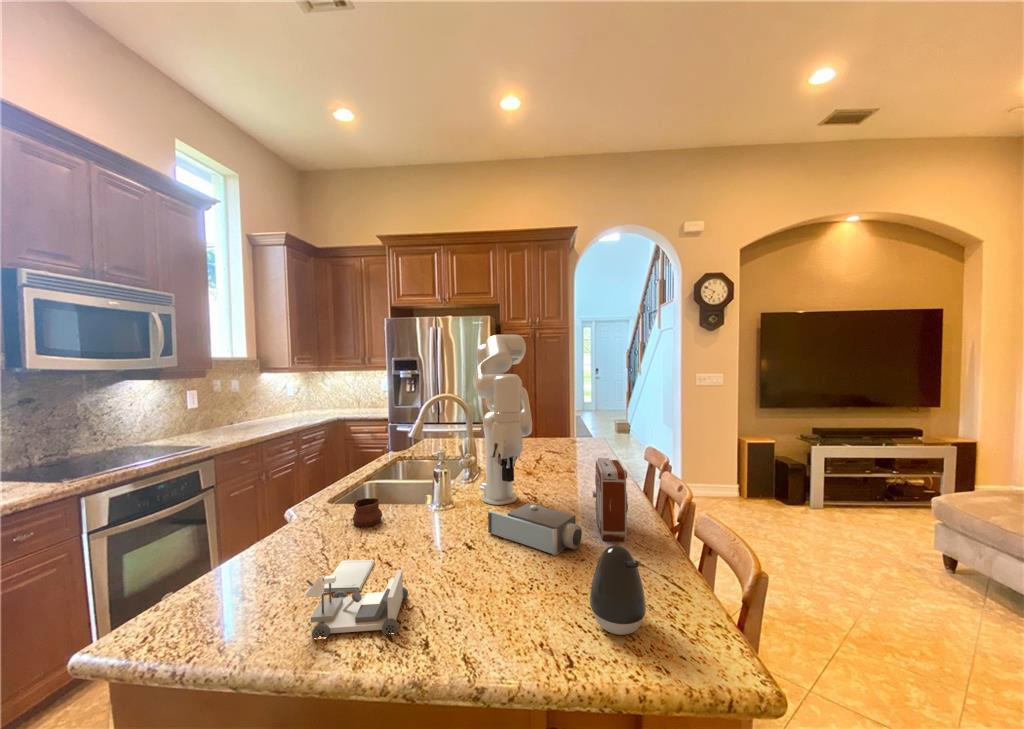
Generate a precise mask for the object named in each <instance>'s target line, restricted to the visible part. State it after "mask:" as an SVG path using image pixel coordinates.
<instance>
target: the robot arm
mask: <svg viewBox="0 0 1024 729" xmlns="http://www.w3.org/2000/svg"><path fill="white" fill-rule="evenodd" d="M526 351H527V347H526V341H525V339H524V338H523V337H522V336H521V335H519V334H493V335H491V336H489V337H488V338H487V339H486V341H485V343H482V344H481V345H479V346H478V347H477V349H476V360H477V361H476V362H477V367H476V372H475V389H476V393H477V396H479V397H480V398H482V399H485V405H486V407H487V410H489V411H488V412H486V413H485V414H484V415H483V418H482V427H483V433H484V441H485V442H484V443H485V482H482V483H481V485H479V490H480V491H483V492H484V493H483V494H482V496H481V499H482V502H484V503H485V504H489V505H494V506H495V505H496V506H502V505H508V504H509V505H510V504H512V503H514V502H516V501H517V500H518V494H517V493H516V492H514V487H513V486H514V482H513V481H515V466H516V462H517V460H518V459H519V458H520V457H521V454H522V452H523V445H524V444H523V437H528V436H529V435H531V434H532V431H533V420H532V418H533V417H532V411H531V406H530V399H529V394H528V393H529V392H528V391H527V389H526V388H525V387H523V380H522V379H521V378H520V376H519V375H518V374H515V373H506V372H508V371H510V369H511V367H512V365H518V364H520V363H521V362H522V360H523V359H524V357H525V354H526Z"/></svg>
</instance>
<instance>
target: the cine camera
mask: <svg viewBox="0 0 1024 729" xmlns="http://www.w3.org/2000/svg"><path fill="white" fill-rule="evenodd" d="M594 478H595V479H594V483H595V484H594V485H595V491H594V490H593V491H592V498H595V516H596V518H595V520H596V521H595V522H596V525H597V528H598V529H597V530H598V534H599V536H600V539H601V540H602V541H618V542H619V541H620V542H621V541H622V542H623V541H626V540H627V532H628V531H627V529H628V528H627V523H628V522H627V518H628V517H627V513H628V511H629V504H628V491H627V479H628V470H627V469H625V468H624V466H623V465H622V464H621V462H620V461H619V460H618V459H610V458H609V457H597V459H596V461H595V476H594Z"/></svg>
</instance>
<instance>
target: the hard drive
mask: <svg viewBox="0 0 1024 729" xmlns="http://www.w3.org/2000/svg"><path fill="white" fill-rule="evenodd" d="M374 565H375V559H353V560H352V559H351V560H342V561H341V560H340V562H339V564H338V565H337V567H336V568H335V570H334V571H333V572H332V574H331V575H330V576H335V575H336V581H335V583H331V592H337V591H340V590H343V591H345V592H346V593H354V592H355V591H356V592H357V591H360V592H361V590H362V588H363V587H364V585H363V584H365V583H364V582H366V581H365V580H367V579H366V578H368V577H369V575H370V573H371V571H372V569H373V567H374ZM367 576H368V577H367ZM352 591H353V592H352ZM324 592H329V583H328V584H324Z"/></svg>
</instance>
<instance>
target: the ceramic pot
mask: <svg viewBox="0 0 1024 729" xmlns="http://www.w3.org/2000/svg"><path fill="white" fill-rule="evenodd" d="M380 502H381V499H379V498H374V497H372V498H360V499H357V500H355V501H354V502H353V506H354V509H355V511H354V513H353V516H352V522H353V525H354V526H355V527H357V528H364V529H365V528H371V527H375V526H377V525H379V524H380V523H381V520H382V518H383V512H382V510H381V509H380Z"/></svg>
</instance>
